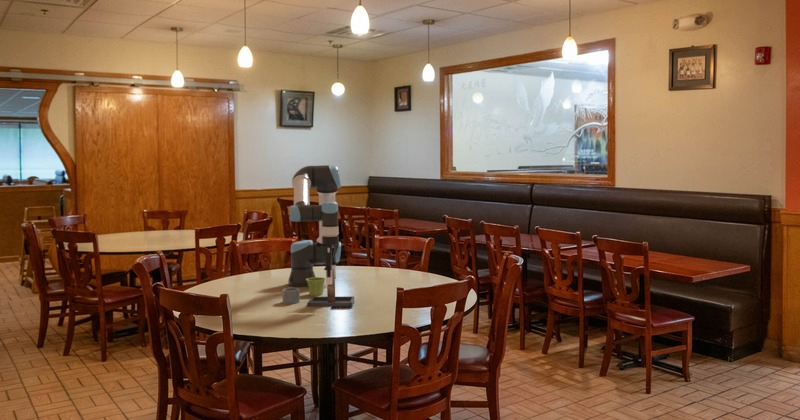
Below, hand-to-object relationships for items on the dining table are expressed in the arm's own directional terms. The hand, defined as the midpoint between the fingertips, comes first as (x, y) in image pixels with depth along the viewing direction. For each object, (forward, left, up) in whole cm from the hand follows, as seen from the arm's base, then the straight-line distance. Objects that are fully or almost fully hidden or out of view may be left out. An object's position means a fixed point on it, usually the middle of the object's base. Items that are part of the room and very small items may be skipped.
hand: (331, 281), depth 311 cm
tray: (0, 0, -11) cm, 11 cm away
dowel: (0, 0, -10) cm, 10 cm away
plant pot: (-20, -10, -11) cm, 25 cm away
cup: (-2, -19, -11) cm, 22 cm away
